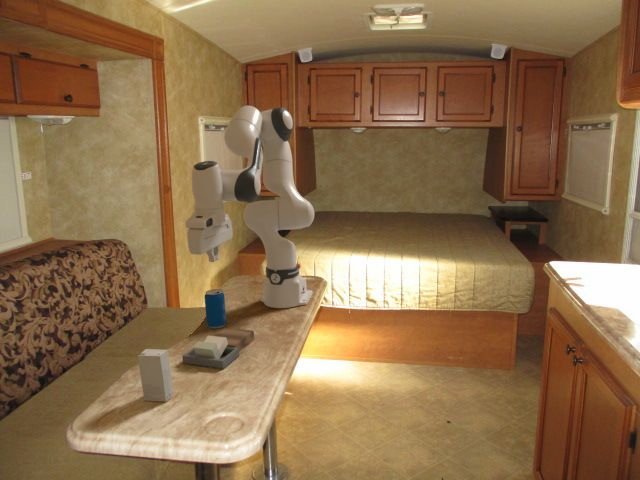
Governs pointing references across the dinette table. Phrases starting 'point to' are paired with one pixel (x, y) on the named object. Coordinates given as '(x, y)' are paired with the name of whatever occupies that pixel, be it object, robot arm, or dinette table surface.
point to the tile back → (218, 342)
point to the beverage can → (215, 308)
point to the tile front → (207, 350)
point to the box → (221, 363)
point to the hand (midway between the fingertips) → (214, 260)
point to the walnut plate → (237, 337)
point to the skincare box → (155, 375)
